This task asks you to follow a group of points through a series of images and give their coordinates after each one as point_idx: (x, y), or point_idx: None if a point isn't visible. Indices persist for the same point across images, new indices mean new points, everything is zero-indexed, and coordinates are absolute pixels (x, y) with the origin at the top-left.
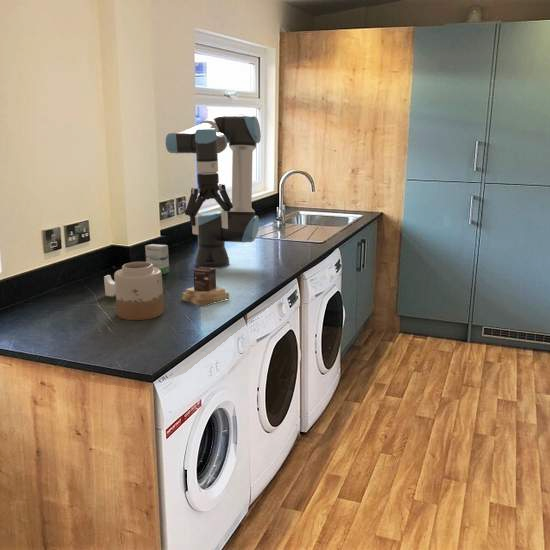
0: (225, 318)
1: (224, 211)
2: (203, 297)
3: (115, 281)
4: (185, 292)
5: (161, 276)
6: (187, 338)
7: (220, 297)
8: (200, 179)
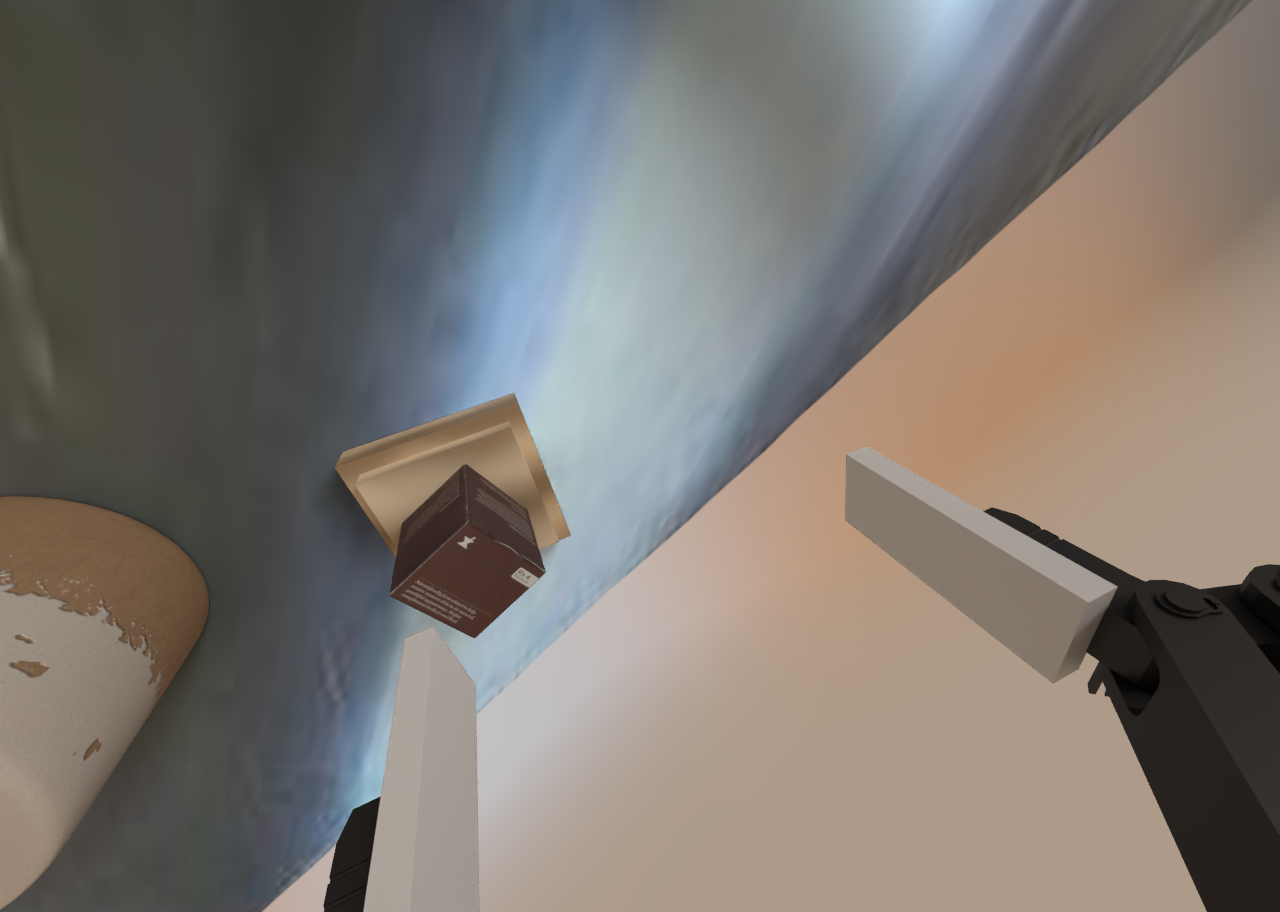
0: None
1: (1057, 662)
2: None
3: None
4: (359, 466)
5: (87, 801)
6: (298, 831)
7: None
8: None
